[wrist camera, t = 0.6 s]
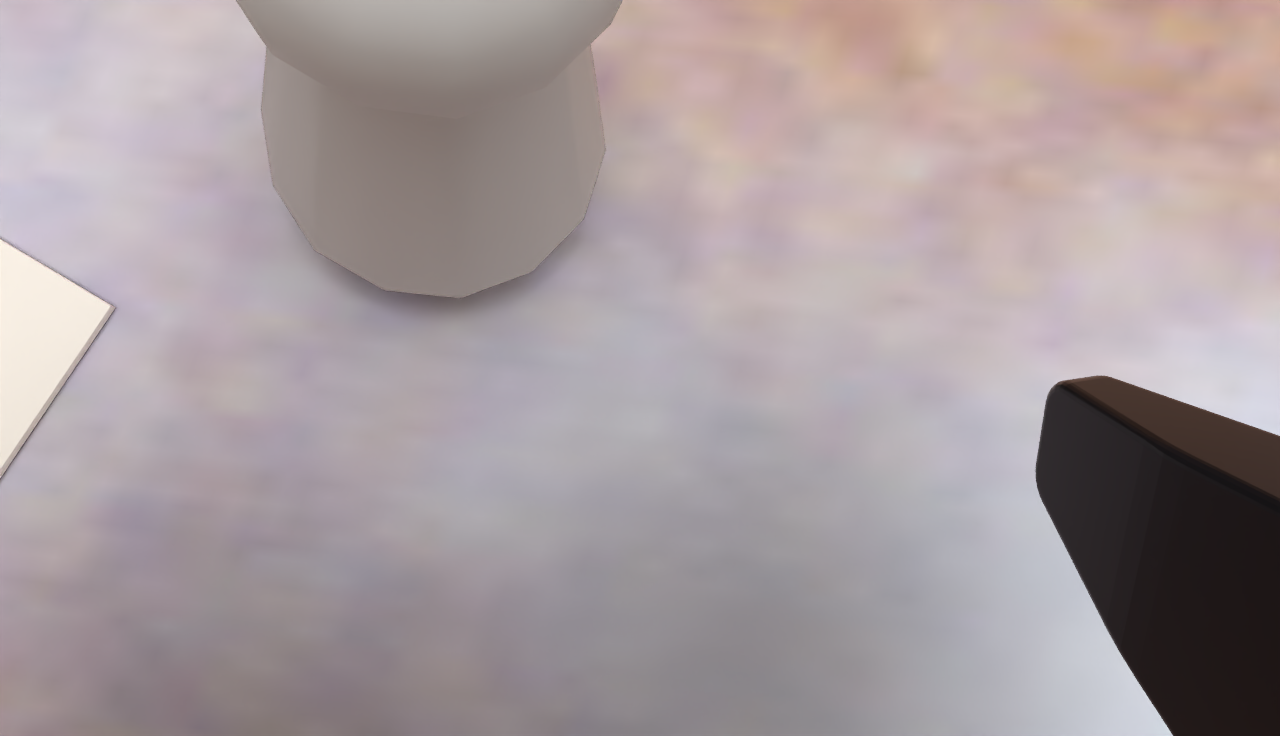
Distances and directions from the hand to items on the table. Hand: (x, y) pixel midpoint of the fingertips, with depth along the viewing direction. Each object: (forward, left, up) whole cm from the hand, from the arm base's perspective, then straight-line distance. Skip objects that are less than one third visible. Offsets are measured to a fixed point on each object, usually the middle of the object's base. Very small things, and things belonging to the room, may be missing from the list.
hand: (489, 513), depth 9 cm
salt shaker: (+5, +4, -14) cm, 15 cm away
